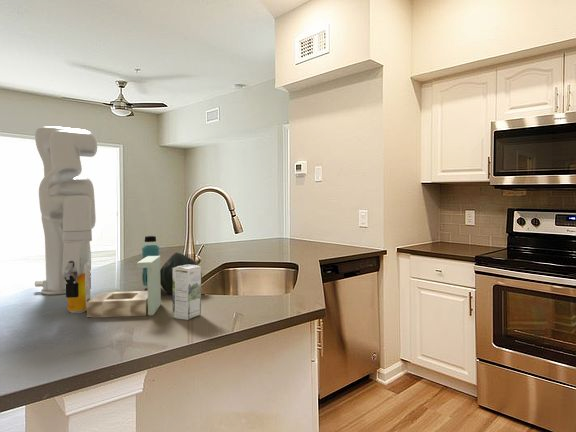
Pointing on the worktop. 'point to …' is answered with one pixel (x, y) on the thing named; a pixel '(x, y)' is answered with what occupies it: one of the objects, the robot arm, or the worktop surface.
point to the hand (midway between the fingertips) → (79, 293)
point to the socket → (118, 304)
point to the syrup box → (186, 291)
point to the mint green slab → (152, 281)
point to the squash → (167, 270)
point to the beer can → (81, 292)
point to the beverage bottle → (149, 254)
